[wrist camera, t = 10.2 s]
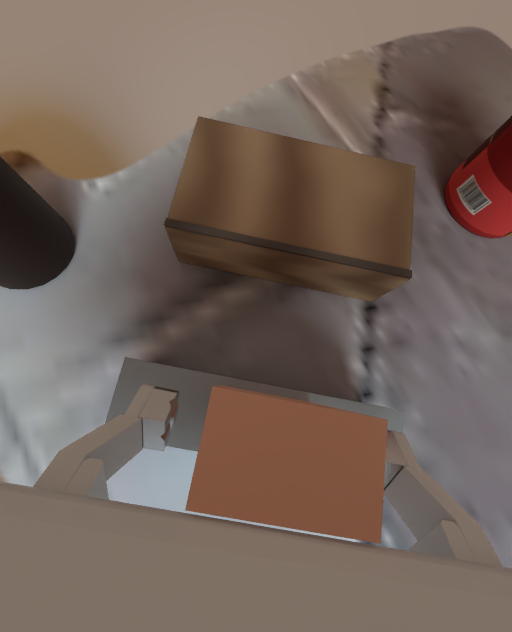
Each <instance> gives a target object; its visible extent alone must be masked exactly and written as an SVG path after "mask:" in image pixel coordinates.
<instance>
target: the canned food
mask: <svg viewBox="0 0 512 632" xmlns="http://www.w3.org/2000/svg"><path fill="white" fill-rule="evenodd" d="M445 200H446V204H447V207H448V209H449V211H450V213H451V214H452V216H453V217H454V218H455V220H456V221H457V222H458V223H459V224H460V225H461V226H463V227H464V228H465V229H467V230H468V231H470V232H472V233H474V234H476V235H479V236H482V237H486V238H500V237H505V236H509V235H512V116H511V117H510V118H509V119H508V120H507V121H506V122H505V123H504V124H503V125H502V126H501V127H500V128H499V129H498V130H497V131H496V132H494V133H493V134H492V135H491V136H490V137H489V138H488V139H487V140H486V141H485V142H484V143H483V144H482V145H481V146H480V147H479V148H478V149H477V150H476V151H475V152H474V153H473V154H472V155H471V156H469V157H468V158H467V159H466V160H465V161H464V162H463V163H462V164H461V165H460V166H459V167H458V168H457V169H456V170H455V171H454V172H453V174H452V175H451V177H450V179H449V181H448V182H447V185H446V188H445Z"/></svg>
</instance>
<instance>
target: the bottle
mask: <svg viewBox="0 0 512 632" xmlns="http://www.w3.org/2000/svg"><path fill="white" fill-rule="evenodd" d="M73 249H74V239H73V235H72V231H71V229H70V227H69V226H68V225H67V223H66V222H65V220H64V219H63V218H62V217H61V216H60V215H59V214H58V213H57V212H56V211H55V210H54V209H53V208H52V207H51V206H50V205H49V204H48V203H47V202H46V201H45V200H44V199H43V198H42V197H41V196H40V195H39V194H38V193H37V192H36V191H35V190H34V189H33V188H32V187H31V186H30V185H29V184H28V183H27V182H25V181H24V180H23V179H22V178H21V177H20V176H19V175H18V174H17V173H16V172H15V171H14V170H13V169H12V168H11V167H10V166H9V165H8V164H7V163H6V162H5V161H4V160H3V159H2V158H1V157H0V286H2V287H6V288H9V289H30V288H34V287H38V286H41V285H44V284H46V283H47V282H49V281H51V280H53V279H54V278H56V277H57V276H58V275H59V274H60V273H61V272H62V271H63V270H64V269H65V268H66V267H67V265H68V263H69V261H70V259H71V257H72V255H73Z"/></svg>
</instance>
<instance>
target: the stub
mask: <svg viewBox="0 0 512 632" xmlns="http://www.w3.org/2000/svg"><path fill="white" fill-rule="evenodd" d="M143 384H148V385H153V386H158V387H163V388H167V389H172V390H177V391H179V399H178V401H177V403H178V404H179V407H178V414H177V417H176V421H175V423H174V426H173V427H172V428H171V429H170V437H169V439H168V442H167V444H166V446H171V447H176V448H182V449H187V450H193V451H198V454H197V459H196V464H195V468H194V473H193V477H192V482H191V487H190V491H189V496H188V500H187V505H186V509H185V510H187V511H193V512H199V513H205V514H210V515H216V516H222V517H228V518H234V519H240V520H246V521H251V522H257V523H263V524H269V525H275V526H281V527H286V528H292V529H298V530H304V531H310V532H316V533H322V534H327V535H333V536H339V537H345V538H351V539H357V540H362V541H368V542H374V543H380V544H381V527H382V511H383V494H384V477H385V460H386V443H387V430H392V431H397V432H402V433H403V416H404V411H403V410H397V409H392V408H387V407H382V406H377V405H371V404H366V403H361V402H356V401H351V400H345V399H340V398H335V397H330V396H325V395H319V394H314V393H309V392H304V391H299V390H293V389H288V388H283V387H278V386H273V385H267V384H262V383H257V382H252V381H247V380H241V379H236V378H231V377H226V376H221V375H215V374H210V373H205V372H200V371H195V370H189V369H184V368H179V367H174V366H168V365H163V364H158V363H153V362H148V361H142V360H137V359H132V358H127V357H125V360H124V363H123V366H122V369H121V373H120V376H119V379H118V383H117V386H116V389H115V392H114V396H113V399H112V402H111V406H110V409H109V412H108V415H107V419H106V422H105V423H107V422H108V421H110V420H112V419H113V418H115V417H117V416H118V415H120V414H121V415H124V414H125V412H126V411H127V409H128V407H129V405H130V404H131V402H132V400H133V399H134V397H135V395H136V394H137V392H138V390H139V389H140V387H141V386H142V385H143Z"/></svg>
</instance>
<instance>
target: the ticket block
mask: <svg viewBox="0 0 512 632" xmlns="http://www.w3.org/2000/svg"><path fill="white" fill-rule="evenodd" d="M414 177H415V166H412V165H408V164H403V163H399V162H395V161H390V160H386V159H381V158H377V157H373V156H368V155H364V154H360V153H355V152H351V151H347V150H342V149H338V148H334V147H329V146H325V145H321V144H316V143H312V142H308V141H303V140H299V139H295V138H290V137H286V136H282V135H277V134H273V133H269V132H264V131H260V130H255V129H251V128H247V127H242V126H238V125H234V124H229V123H225V122H221V121H216V120H212V119H208V118H203V117H198V119H197V123H196V126H195V129H194V132H193V136H192V139H191V142H190V146H189V149H188V152H187V156H186V159H185V162H184V165H183V169H182V172H181V175H180V179H179V182H178V185H177V188H176V192H175V195H174V198H173V202H172V205H171V208H170V211H169V215H168V218H166V220H165V224H164V226H165V229H166V232H167V234H168V236H169V239H170V241H171V243H172V246H173V248H174V251H175V253H176V255H177V258H178V260H179V262H183V263H188V264H193V265H198V266H203V267H207V268H212V269H217V270H222V271H227V272H232V273H236V274H241V275H246V276H251V277H256V278H260V279H265V280H270V281H275V282H280V283H284V284H289V285H294V286H299V287H304V288H309V289H313V290H318V291H323V292H328V293H333V294H337V295H342V296H347V297H352V298H357V299H361V300H366V301H371V302H372V301H374V300H375V299H377V298H379V297H381V296H382V295H384V294H386V293H387V292H389V291H391V290H393V289H394V288H396V287H398V286H399V285H401V284H403V283H404V282H406V281H408V280H410V278H412V270H410V264H411V242H412V221H413V199H414Z"/></svg>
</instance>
